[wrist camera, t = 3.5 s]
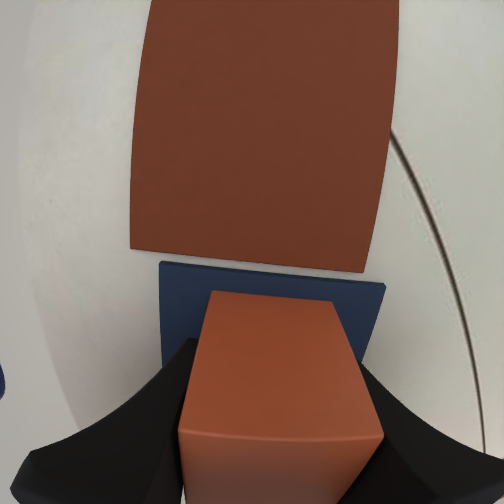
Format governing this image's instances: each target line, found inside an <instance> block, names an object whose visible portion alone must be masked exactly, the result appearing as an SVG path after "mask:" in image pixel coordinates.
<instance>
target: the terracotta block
mask: <svg viewBox="0 0 504 504" xmlns="http://www.w3.org/2000/svg"><path fill="white" fill-rule="evenodd" d="M178 438H179V449H180V459H181V469H182V478H183V486H184V494H185V501H186V504H337V503H338V502H339V500H340V499H341V498H342V497H343V495H344V494H345V493H346V491H347V490H348V489H349V488H350V486H351V485H352V483H353V482H354V481H355V479H356V478H357V477H358V475H359V474H360V472H361V471H362V470H363V468H364V467H365V465H366V464H367V462H368V461H369V459H370V458H371V457H372V455H373V454H374V452H375V450H376V449H377V447H378V446H379V444H380V443H381V441H382V440H383V438H384V432H383V430H382V427H381V424H380V421H379V419H378V416H377V413H376V410H375V408H374V405H373V402H372V400H371V397H370V394H369V392H368V389H367V387H366V384H365V381H364V379H363V376H362V374H361V371H360V369H359V366H358V363H357V361H356V358H355V356H354V353H353V351H352V348H351V346H350V344H349V341H348V339H347V336H346V334H345V331H344V329H343V327H342V324H341V322H340V319H339V317H338V315H337V312H336V310H335V307H334V305H333V303H332V302H331V301H323V300H310V299H298V298H287V297H276V296H265V295H255V294H245V293H236V292H226V291H217V290H213V291H212V292H211V295H210V299H209V303H208V307H207V310H206V314H205V318H204V322H203V326H202V330H201V334H200V338H199V342H198V346H197V350H196V354H195V358H194V362H193V367H192V371H191V375H190V379H189V383H188V387H187V392H186V396H185V400H184V404H183V409H182V413H181V417H180V422H179V426H178Z"/></svg>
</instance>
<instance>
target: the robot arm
mask: <svg viewBox="0 0 504 504" xmlns="http://www.w3.org/2000/svg"><path fill="white" fill-rule="evenodd" d="M198 342H199V339H197V338H189V337H188V338H187V339H185V340H184V342H183V343H182V344H181V346H180V347H179V348H178V350H177V351H176V352H175V354H174V355H173V356H172V357H171V358H170V360H169V361H168V362H167V363H166V364H165V365H164V366H163V367H162V369H161V370H160V371H159V372H158V373H157V374H156V375H155V376H154V377H153V378H152V379H151V380H150V381H149V382H148V383H147V384H146V385H145V386H144V387H143V388H142V389H141V390H140V391H138V392H137V393H136V394H135V395H134V396H133V397H131V398H130V399H129V400H128V401H127V402H125V403H124V404H123V405H121V406H120V407H119V408H117V409H116V410H114V411H113V412H112V413H110V414H109V415H107V416H106V417H104V418H103V419H101V420H99V421H98V422H96V423H94V424H93V425H91V426H89V427H87V428H85V429H83V430H81V431H79V432H78V433H76V434H74V435H72V436H70V437H68V438H65V439H63V440H61V441H58V442H55V443H53V444H50V445H48V446H44V447H42V448H39V449H36V450H33V451H30V453H29V454H28V456H27V457H26V459H25V460H24V462H23V463H22V465H21V467H20V469H19V471H18V473H17V475H16V477H15V479H14V481H13V483H12V485H11V487H10V490H11V493H12V495H13V496H14V498H15V499H16V500H17V501H18V502H19V503H20V504H181V497H182V490H183V478H182V469H181V459H180V449H179V438H178V426H179V422H180V417H181V413H182V409H183V404H184V400H185V396H186V392H187V387H188V383H189V379H190V375H191V371H192V367H193V362H194V358H195V354H196V350H197V346H198ZM355 358H356V357H355ZM356 361H357V363H358V366H359V369H360V371H361V374H362V376H363V379H364V381H365V384H366V387H367V389H368V392H369V394H370V397H371V400H372V402H373V405H374V408H375V410H376V413H377V416H378V419H379V421H380V424H381V427H382V430H383V432H384V438H383V440H382V441H381V443H380V444H379V446H378V447H377V449H376V450H375V452H374V454H373V455H372V457H371V458H370V459H369V461H368V462H367V464H366V465H365V467H364V468H363V470H362V471H361V472H360V474H359V475H358V477H357V478H356V479H355V481H354V482H353V483H352V485H351V486H350V488H349V489H348V490H347V491H346V493H345V494H344V495H343V497H342V498H341V499H340V500H339V502H338V503H337V504H493V503H495V502H496V501H497V500H498V499H499V498H500V497H502V496H503V495H504V460H503V459H500V458H497V457H494V456H491V455H488V454H485V453H482V452H479V451H477V450H474V449H472V448H470V447H468V446H466V445H463V444H461V443H459V442H457V441H455V440H454V439H452V438H450V437H448V436H446V435H445V434H443V433H441V432H440V431H438V430H436V429H435V428H433V427H432V426H430V425H429V424H427V423H426V422H425V421H423V420H422V419H421V418H419V417H418V416H417V415H415V414H414V413H413V412H411V411H410V410H409V409H408V408H406V407H405V406H404V405H403V404H402V403H401V402H400V401H399V400H397V399H396V398H395V397H394V396H393V395H392V394H391V393H390V392H389V391H388V390H387V389H386V388H385V387H384V386H383V385H382V384H381V383H380V382H379V381H378V380H377V379H376V378H375V377H374V376H373V375H372V374H371V373H370V372H369V371H368V370H367V369H366V368H365V367H364V365H363V364H362V363H361V362H360V361H359V360H358V359H357V358H356Z"/></svg>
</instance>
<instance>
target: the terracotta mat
mask: <svg viewBox="0 0 504 504" xmlns="http://www.w3.org/2000/svg"><path fill="white" fill-rule="evenodd" d="M398 30H399V0H152V2H151V7H150V12H149V17H148V22H147V27H146V33H145V39H144V44H143V51H142V57H141V64H140V71H139V79H138V87H137V96H136V105H135V115H134V127H133V140H132V157H131V179H130V249H136V250H145V251H154V252H163V253H172V254H181V255H190V256H200V257H209V258H218V259H228V260H237V261H247V262H256V263H266V264H276V265H285V266H295V267H305V268H315V269H325V270H335V271H345V272H356V273H363V272H364V268H365V264H366V260H367V256H368V252H369V247H370V243H371V238H372V234H373V229H374V225H375V220H376V215H377V210H378V205H379V199H380V194H381V189H382V183H383V177H384V171H385V165H386V159H387V152H388V145H389V138H390V130H391V122H392V113H393V104H394V94H395V83H396V70H397V54H398Z"/></svg>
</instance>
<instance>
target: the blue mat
mask: <svg viewBox="0 0 504 504" xmlns="http://www.w3.org/2000/svg"><path fill="white" fill-rule="evenodd" d="M213 290H217V291H226V292H236V293H245V294H255V295H265V296H276V297H287V298H298V299H310V300H323V301H331V302H332V303H333V305H334V307H335V310H336V312H337V315H338V317H339V319H340V322H341V324H342V327H343V329H344V331H345V334H346V336H347V339H348V341H349V344H350V346H351V348H352V351H353V353H354V356H355V357H356V358H357V359H358V360H359V361H360V362H362V359H363V356H364V354H365V351H366V348H367V345H368V342H369V340H370V337H371V334H372V331H373V328H374V325H375V322H376V319H377V316H378V313H379V309H380V306H381V303H382V300H383V296H384V293H385V290H386V286H385V284H384V283H374V282H363V281H352V280H341V279H330V278H319V277H308V276H298V275H288V274H278V273H268V272H258V271H248V270H239V269H229V268H220V267H211V266H202V265H193V264H184V263H175V262H166V261H161V262H160V263H159V307H160V333H161V352H162V367H163V366H164V365H165V364H166V363H167V362H168V361H169V360H170V358H171V357H172V356H173V355H174V354H175V352H176V351H177V350H178V348H179V347H180V346H181V344H182V343H183V342H184V340H185V339H187V338H188V337H189V338H197V339H199V338H200V334H201V330H202V326H203V322H204V318H205V314H206V310H207V307H208V303H209V299H210V295H211V292H212V291H213Z"/></svg>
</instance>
